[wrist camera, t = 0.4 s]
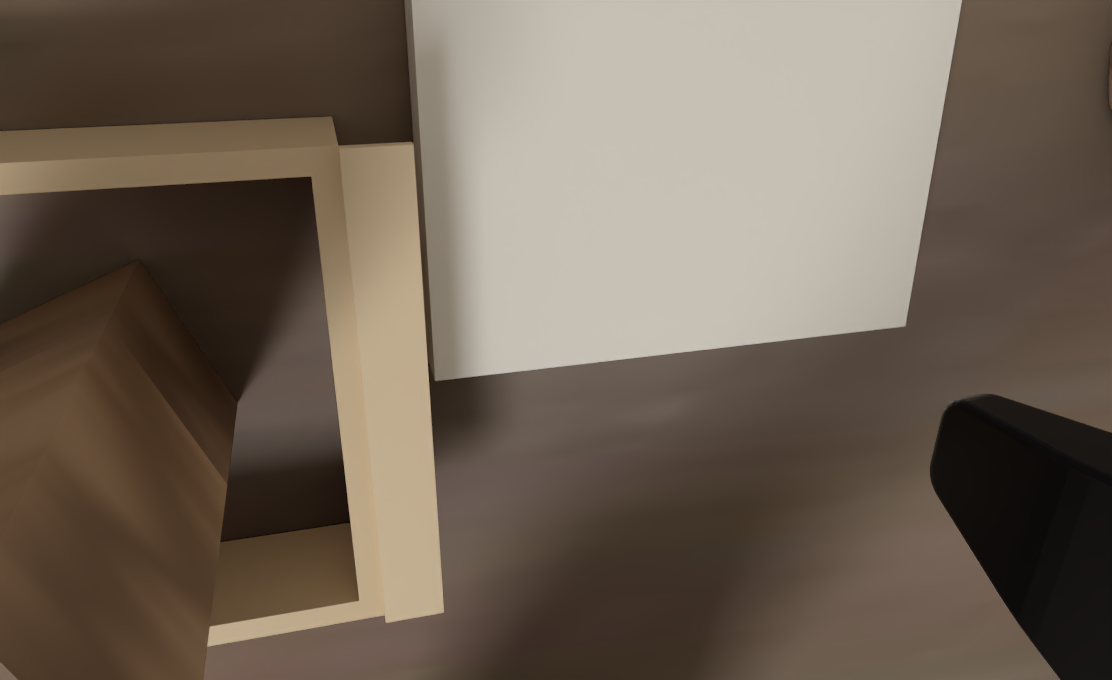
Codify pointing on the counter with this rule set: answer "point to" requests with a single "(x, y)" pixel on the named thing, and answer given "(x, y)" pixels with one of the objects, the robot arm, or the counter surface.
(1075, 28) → the counter surface
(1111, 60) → the figurine
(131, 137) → the light wooden tray
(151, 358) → the walnut box
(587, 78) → the tile
